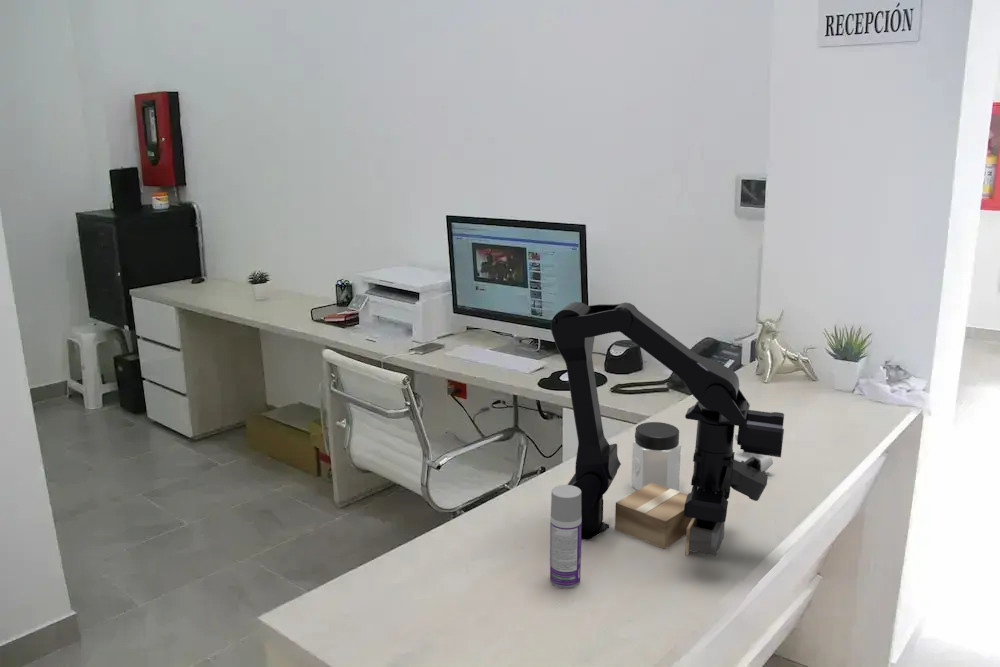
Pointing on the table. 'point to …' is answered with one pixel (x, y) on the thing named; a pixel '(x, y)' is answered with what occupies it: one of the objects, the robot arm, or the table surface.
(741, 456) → the stamp
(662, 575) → the table surface
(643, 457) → the jar
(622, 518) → the carton
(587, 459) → the robot arm
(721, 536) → the flap
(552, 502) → the container
